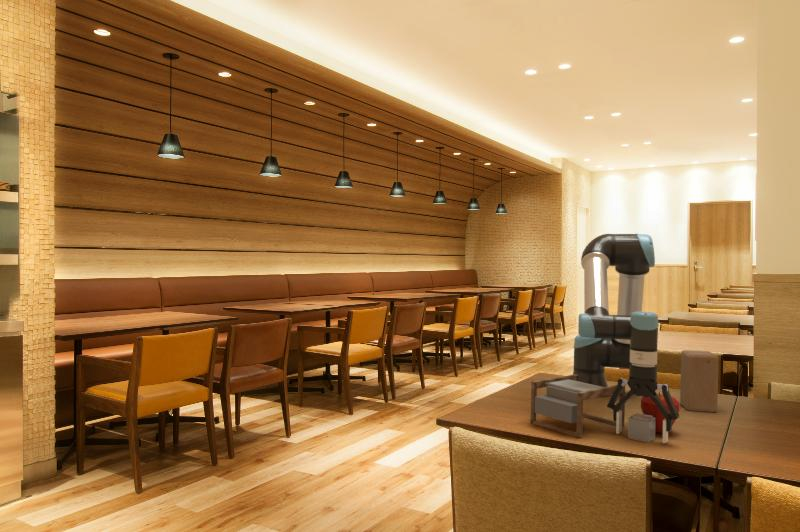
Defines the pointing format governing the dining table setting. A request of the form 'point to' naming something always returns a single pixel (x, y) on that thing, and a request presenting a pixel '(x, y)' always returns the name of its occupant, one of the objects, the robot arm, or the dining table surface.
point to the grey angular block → (561, 399)
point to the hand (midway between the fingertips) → (641, 437)
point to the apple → (656, 410)
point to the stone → (641, 427)
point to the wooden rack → (580, 398)
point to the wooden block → (699, 381)
